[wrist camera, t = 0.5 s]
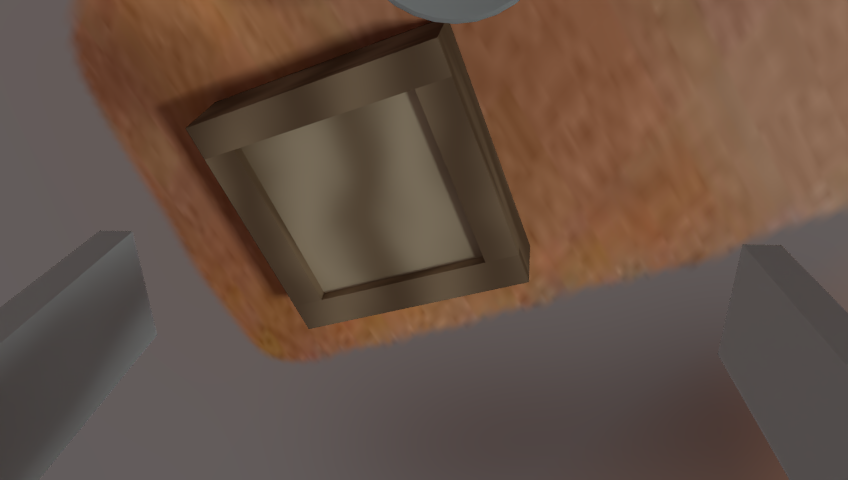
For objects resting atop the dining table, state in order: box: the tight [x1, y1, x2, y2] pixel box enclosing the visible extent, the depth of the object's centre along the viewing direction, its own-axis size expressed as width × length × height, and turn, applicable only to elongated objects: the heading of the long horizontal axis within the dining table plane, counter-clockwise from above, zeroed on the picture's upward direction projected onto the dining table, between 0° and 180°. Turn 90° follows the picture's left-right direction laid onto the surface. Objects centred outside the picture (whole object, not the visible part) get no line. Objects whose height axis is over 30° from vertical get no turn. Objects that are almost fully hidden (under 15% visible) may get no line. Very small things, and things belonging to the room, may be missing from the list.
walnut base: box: [186, 22, 530, 329], centre depth 37 cm, size 15×15×4 cm
